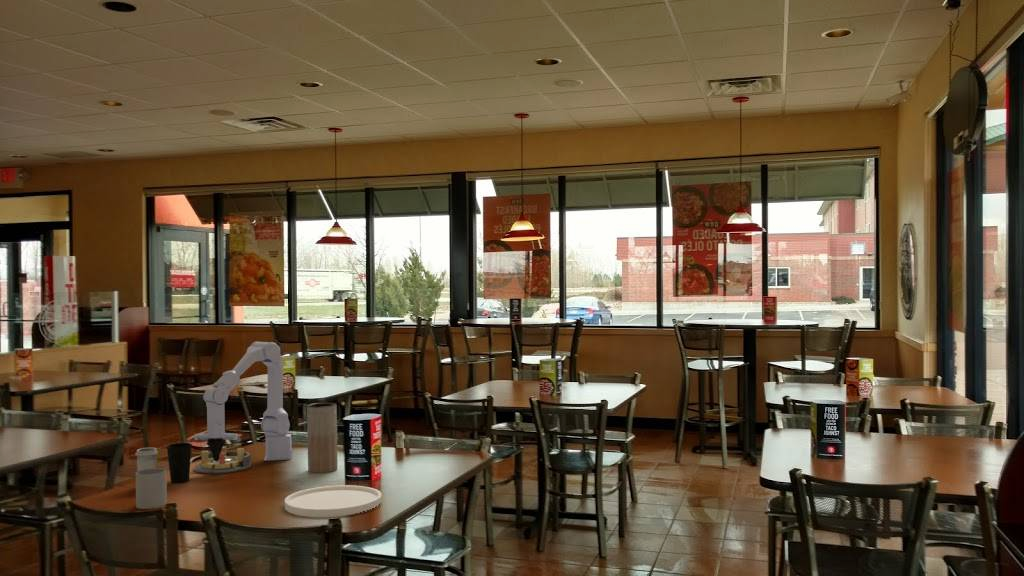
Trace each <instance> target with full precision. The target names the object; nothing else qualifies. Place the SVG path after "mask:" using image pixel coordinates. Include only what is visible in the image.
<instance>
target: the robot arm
mask: <svg viewBox="0 0 1024 576" xmlns="http://www.w3.org/2000/svg"><path fill="white" fill-rule="evenodd" d="M255 362H262V364H264V365H265V366H266V367H267V399H266V400H267V402H266V403H267V406H266V407H267V408H266V410H265V411H264V412H263V413H262V416H263V417H262V420H261V422H260V428H261V430H262V431H263V432H264V433H263V434H264V435H265V456H264V458H263V461H280V460H281V461H287V460H291V458H292V456H293V448H292V446H293V445H292V443H293V442H292V439H293V438H292V434H291V433H289V434H288V432H289V430H290V429H291V428H290V427H291V423H290V420H289V414H288V413H287V411H286V410H285V409H284V407H283V406H284V405H283V404H284V400H283V397H284V394H283V393H284V390H283V388H284V360H283V358H282V355H281V347H280V346H279V345H278V344H277V343H275V342H274V341H271V342H269V341H268V342H267V341H253V342H252V343H251V344H250V346H249V347H247V349H246V353H245V354H244V355H243V356H242V357H241V359H240V360H239V361H238V362H237V364H235V366H234V367H233V368H232V369H231V370H226V371H223V372H222V376H221V377H220V378H219V379H218V380H217V381H216V382H214V383H213V386H209V387H208V388H207V389H206V390H205V391H204V394H203V396H202V399H203V401H204V402H205V403H206V405H205V406H206V414H207V415H206V420H207V422H206V423H207V424H206V425H207V427H206V429H207V432H206V433H195V434H193V435H194V441H206V445H207V447H208V448H209V450H210V453H212V455H213V459H214V461H218V460H219V454H220V453H221V450H222V447H223V446H224V445H225V442H226V441H227V440H228V441H231V440H232V441H236V440H238V439H239V436H238V433H233V432H232V433H231V432H226V429H225V428H226V426H225V425H226V423H225V421H226V420H225V418H226V417H225V403H226V402H227V401H228V398H229V395H230V393H231V392H232V391H233V389H234V388H235V387H236V386H238V384H239V383H240V381H241V379H240V378H241V376H242V375H243V374H244V373H245V372H246V371H247V370H248V369H249V368H250V367H251V366H252V365H253V364H254V363H255Z"/></svg>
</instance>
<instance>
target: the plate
mask: <svg viewBox="0 0 1024 576" xmlns="http://www.w3.org/2000/svg"><path fill="white" fill-rule="evenodd" d="M381 501H382V502H383V494H382V492H381V491H380V490H378V489H376V488H373V487H369V486H364V485H363V486H362V485H350V484H347V485H345V484H344V485H343V484H342V485H341V484H340V485H326V486H318V487H312V488H308V489H307V488H306V489H302V490H299V491H295V492H293V493H291V494H289V495H287V496H286V497H285V498H284V510H285V511H287V512H288V513H289V514H293V515H296V516H301V517H307V518H308V517H311V518H333V517H343V516H351V515H356V513H357V514H361V513H364V512H363V511H365V512H368V511H367V510H369V511H371V510H373V509H372V508H374V509H376V508H377V507H379V506H380V505H381V504H382V502H381ZM380 503H381V504H380ZM379 504H380V505H379ZM378 505H379V506H378ZM376 506H377V507H376ZM375 507H376V508H375ZM370 509H371V510H370ZM360 512H361V513H360Z"/></svg>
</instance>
